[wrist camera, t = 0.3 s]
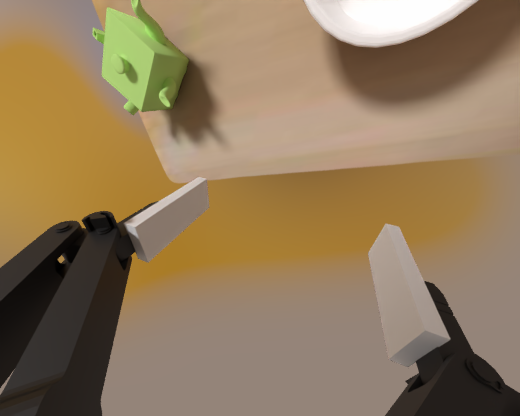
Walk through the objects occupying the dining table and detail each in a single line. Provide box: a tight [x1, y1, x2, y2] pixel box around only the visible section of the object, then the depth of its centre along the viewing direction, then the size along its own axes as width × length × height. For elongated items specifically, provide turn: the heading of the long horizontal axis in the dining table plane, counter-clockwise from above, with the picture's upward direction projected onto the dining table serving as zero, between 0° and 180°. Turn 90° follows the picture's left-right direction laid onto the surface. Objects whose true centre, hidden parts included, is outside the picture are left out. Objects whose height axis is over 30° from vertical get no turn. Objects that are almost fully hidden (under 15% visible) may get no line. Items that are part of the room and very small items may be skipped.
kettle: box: [93, 0, 189, 115], centre depth 34 cm, size 15×14×11 cm
